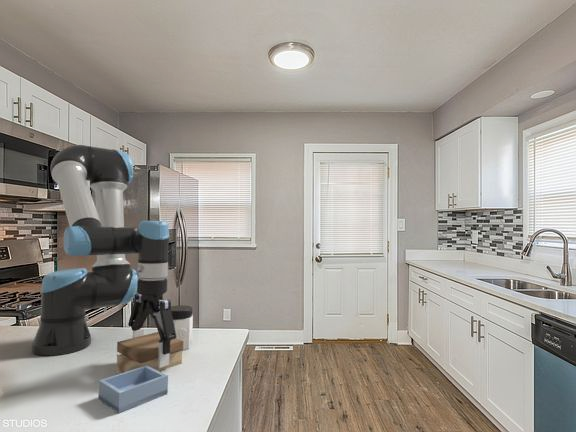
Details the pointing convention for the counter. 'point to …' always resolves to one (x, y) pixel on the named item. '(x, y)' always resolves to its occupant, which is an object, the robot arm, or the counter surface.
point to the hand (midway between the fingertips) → (150, 359)
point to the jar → (183, 324)
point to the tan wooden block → (130, 364)
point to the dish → (132, 388)
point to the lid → (146, 347)
